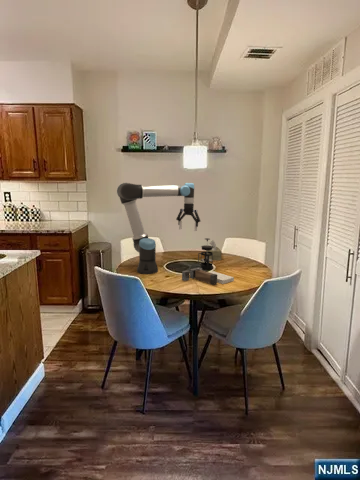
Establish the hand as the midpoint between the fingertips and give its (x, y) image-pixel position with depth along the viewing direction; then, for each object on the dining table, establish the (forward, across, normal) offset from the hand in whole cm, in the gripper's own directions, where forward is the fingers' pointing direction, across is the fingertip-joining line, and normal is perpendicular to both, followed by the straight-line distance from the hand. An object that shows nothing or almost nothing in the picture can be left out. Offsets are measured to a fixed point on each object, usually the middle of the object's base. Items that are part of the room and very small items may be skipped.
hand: (187, 230), depth 255 cm
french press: (+27, -19, +6) cm, 34 cm away
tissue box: (+27, -11, -30) cm, 41 cm away
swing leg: (+27, -33, +36) cm, 56 cm away
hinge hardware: (+27, -23, +35) cm, 50 cm away
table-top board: (+27, -38, +27) cm, 53 cm away
